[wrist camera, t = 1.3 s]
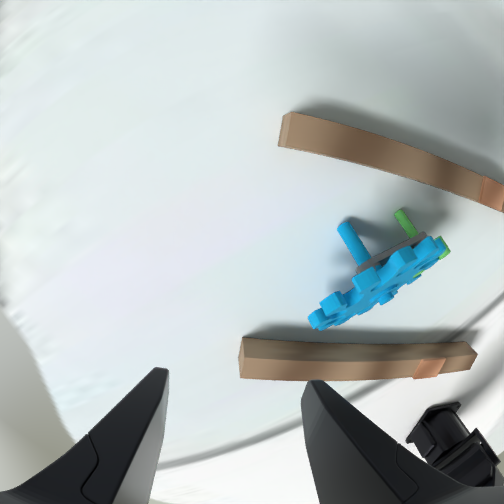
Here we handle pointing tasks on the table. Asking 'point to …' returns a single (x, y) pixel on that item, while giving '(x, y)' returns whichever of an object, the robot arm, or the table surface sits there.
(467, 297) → the table surface
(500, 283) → the table surface
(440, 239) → the gear
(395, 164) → the guide channel
